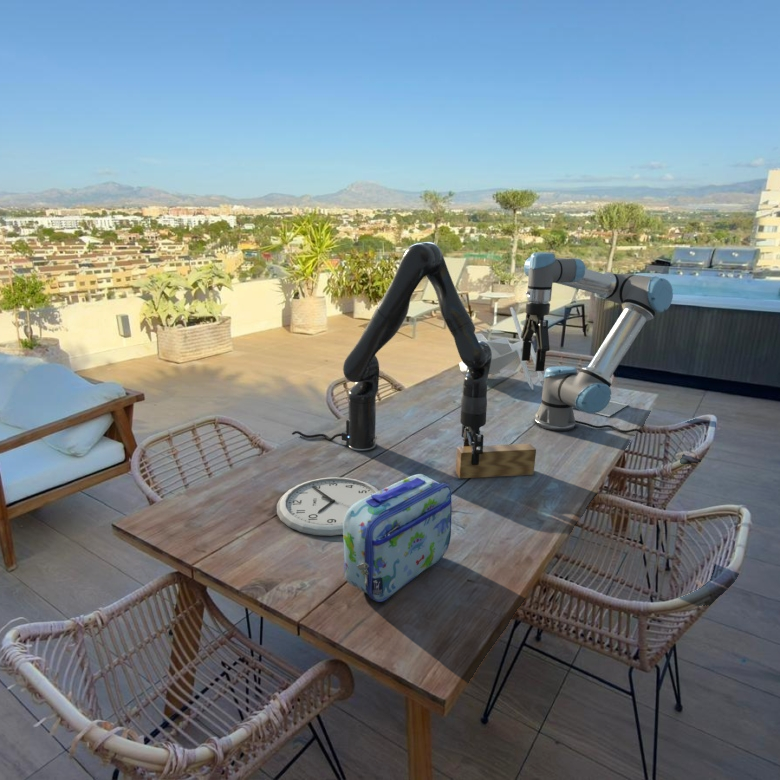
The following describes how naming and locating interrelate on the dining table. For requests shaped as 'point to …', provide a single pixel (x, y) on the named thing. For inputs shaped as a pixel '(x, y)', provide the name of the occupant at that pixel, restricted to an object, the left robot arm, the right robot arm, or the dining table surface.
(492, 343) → the white plastic object
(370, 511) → the lunch box
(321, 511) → the wall clock
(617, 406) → the invitation card
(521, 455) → the bar
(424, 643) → the dining table surface
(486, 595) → the dining table surface
